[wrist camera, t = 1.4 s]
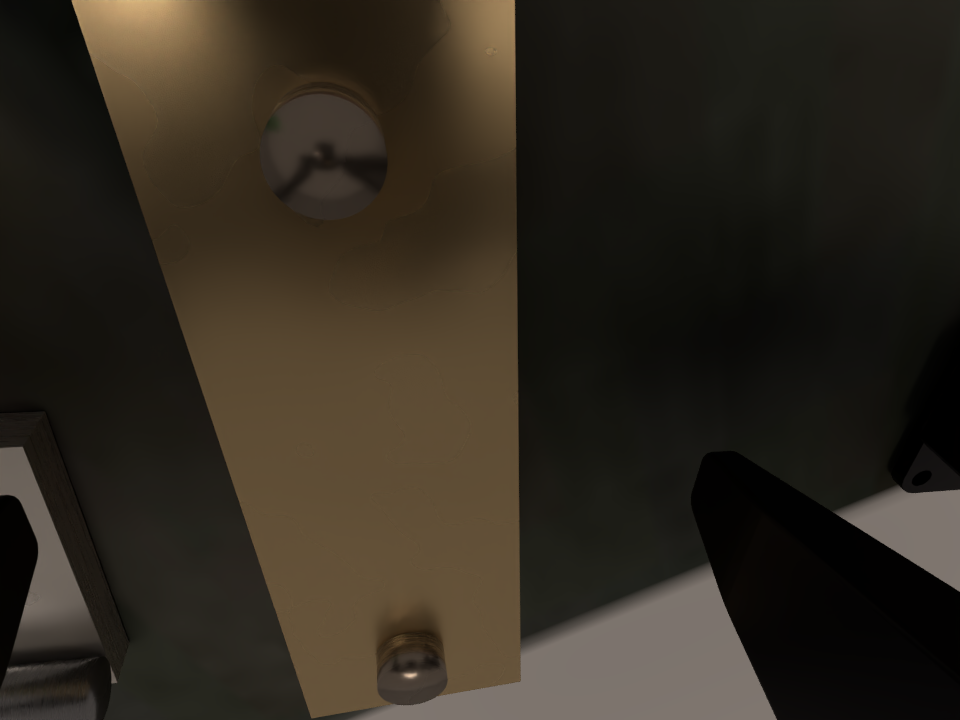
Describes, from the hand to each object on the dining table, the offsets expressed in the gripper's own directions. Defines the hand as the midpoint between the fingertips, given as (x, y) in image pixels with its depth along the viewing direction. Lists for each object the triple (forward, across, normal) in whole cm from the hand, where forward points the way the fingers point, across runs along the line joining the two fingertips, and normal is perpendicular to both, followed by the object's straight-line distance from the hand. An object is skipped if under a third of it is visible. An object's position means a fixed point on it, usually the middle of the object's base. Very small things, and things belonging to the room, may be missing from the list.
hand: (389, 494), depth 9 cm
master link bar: (+5, 0, 0) cm, 5 cm away
